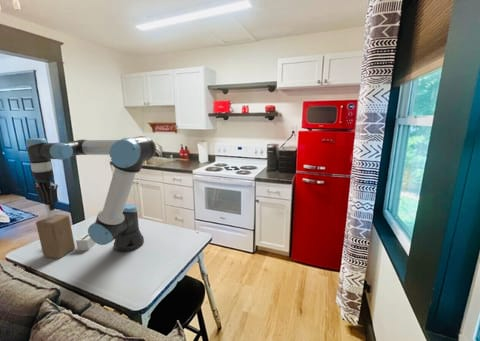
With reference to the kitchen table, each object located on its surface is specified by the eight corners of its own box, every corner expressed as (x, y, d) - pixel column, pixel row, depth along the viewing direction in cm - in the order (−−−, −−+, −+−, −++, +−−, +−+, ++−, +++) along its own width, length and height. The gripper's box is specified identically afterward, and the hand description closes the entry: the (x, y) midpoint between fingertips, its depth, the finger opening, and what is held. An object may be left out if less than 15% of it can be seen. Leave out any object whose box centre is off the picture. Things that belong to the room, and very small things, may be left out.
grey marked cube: (95, 244, 130) (94, 234, 128) (89, 250, 124) (87, 239, 123) (85, 244, 130) (83, 234, 128) (77, 250, 124) (75, 240, 123)
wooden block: (58, 259, 116) (50, 223, 111) (42, 257, 118) (34, 221, 113) (76, 248, 125) (69, 214, 121) (61, 246, 127) (54, 213, 123)
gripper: (60, 169, 113) (68, 214, 119) (40, 168, 117) (49, 211, 122) (44, 173, 106) (54, 220, 112) (23, 171, 110) (34, 217, 115)
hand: (51, 215), depth 117 cm, fingers closed
